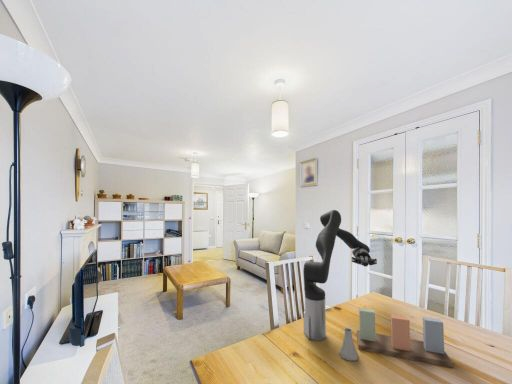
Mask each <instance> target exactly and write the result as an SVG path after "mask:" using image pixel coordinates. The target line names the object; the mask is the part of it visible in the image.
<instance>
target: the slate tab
mask: <svg viewBox="0 0 512 384" xmlns="http://www.w3.org/2000/svg"><path fill="white" fill-rule="evenodd" d="M422 333H423V335H422V337H423V338H422V339H423V342H424V348H425V350H426V351H429V352H435V353H440V354H444V351H445V336H444V335H445V333H444V322H443V320H442V319H440V318H437V317H436V318H435V317H434V318H433V317H427V316H422Z"/></svg>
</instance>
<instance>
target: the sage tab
mask: <svg viewBox="0 0 512 384" xmlns="http://www.w3.org/2000/svg"><path fill="white" fill-rule="evenodd" d="M358 312H359V313H358V315H359V316H358V321H359V331H360V339H363V340H369V341H374V342H376V335H375V333H376V312H375V310H374V309H371V308H363V307H359V309H358Z"/></svg>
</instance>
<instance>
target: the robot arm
mask: <svg viewBox="0 0 512 384" xmlns="http://www.w3.org/2000/svg"><path fill="white" fill-rule="evenodd" d="M319 220H320V223H321V224H322V226H323V227H324V228H322V229H321V230H320V232H319V234H318V235H317V238H316V241H315V249H316V251H317V252H318V254H319V256H320V257H321V260H322V261H319V262H318V261H314V260H313V261H311V260H307V261H305V262H304V265H303V286H304V287H303V288H304V289H303V290H304V311H303V333H304V335H305V336H306V337H307V339H308V340H313V341H322V340H325V339H326V336H327V330H326V329H327V328H326V327H327V326H326V318H327V317H326V292H325V290H324V289H323V288H321V287H319V286H318V285H316V284H325V283H327V281H328V278H329V274H330V265H331V258H332V254H333V250H334V248H335V243H336V238H339V239H340V240H341V241H343V242H344V243H345V244H346V245H347V246H348V248H349V249H351V250H352V251H351V252H352V253H351V254H352V255H353V256H352V257H351V262H352V263H355V264H357V265H360V266H363V267H368V266H373V265H377V264H378V259H377V258H372V257H371V255H370V252H371V249H370V247H369V246H368V245H367V244H366V243H364V242H361V241H360V240H359V239H358V238H356V236H355V235H354V234H353V233H351V232H349V231H347V230H346V229H341V228H340V226H341V223H342V216H341V213H340V212H339V210H336V209H331V210H329V211H326V212H325V213H323V214H322V215H321V214H320V218H319Z"/></svg>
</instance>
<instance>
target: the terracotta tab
mask: <svg viewBox="0 0 512 384" xmlns="http://www.w3.org/2000/svg"><path fill="white" fill-rule="evenodd" d="M410 333H411V332H410V319H409V317H408V316H402V315H396V314H390V336H391V343H392V347H393V348H395V349H400V350H406V351H410V339H411V338H410V337H411V335H410Z"/></svg>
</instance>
